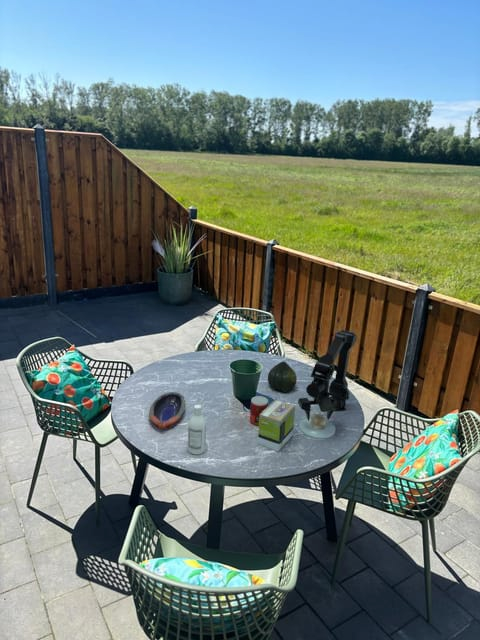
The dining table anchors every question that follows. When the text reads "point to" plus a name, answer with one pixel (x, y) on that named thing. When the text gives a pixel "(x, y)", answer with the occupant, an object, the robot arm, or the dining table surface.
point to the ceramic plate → (318, 434)
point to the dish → (167, 410)
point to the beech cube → (318, 421)
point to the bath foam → (197, 432)
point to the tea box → (276, 425)
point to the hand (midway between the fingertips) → (318, 419)
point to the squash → (282, 377)
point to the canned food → (257, 408)
